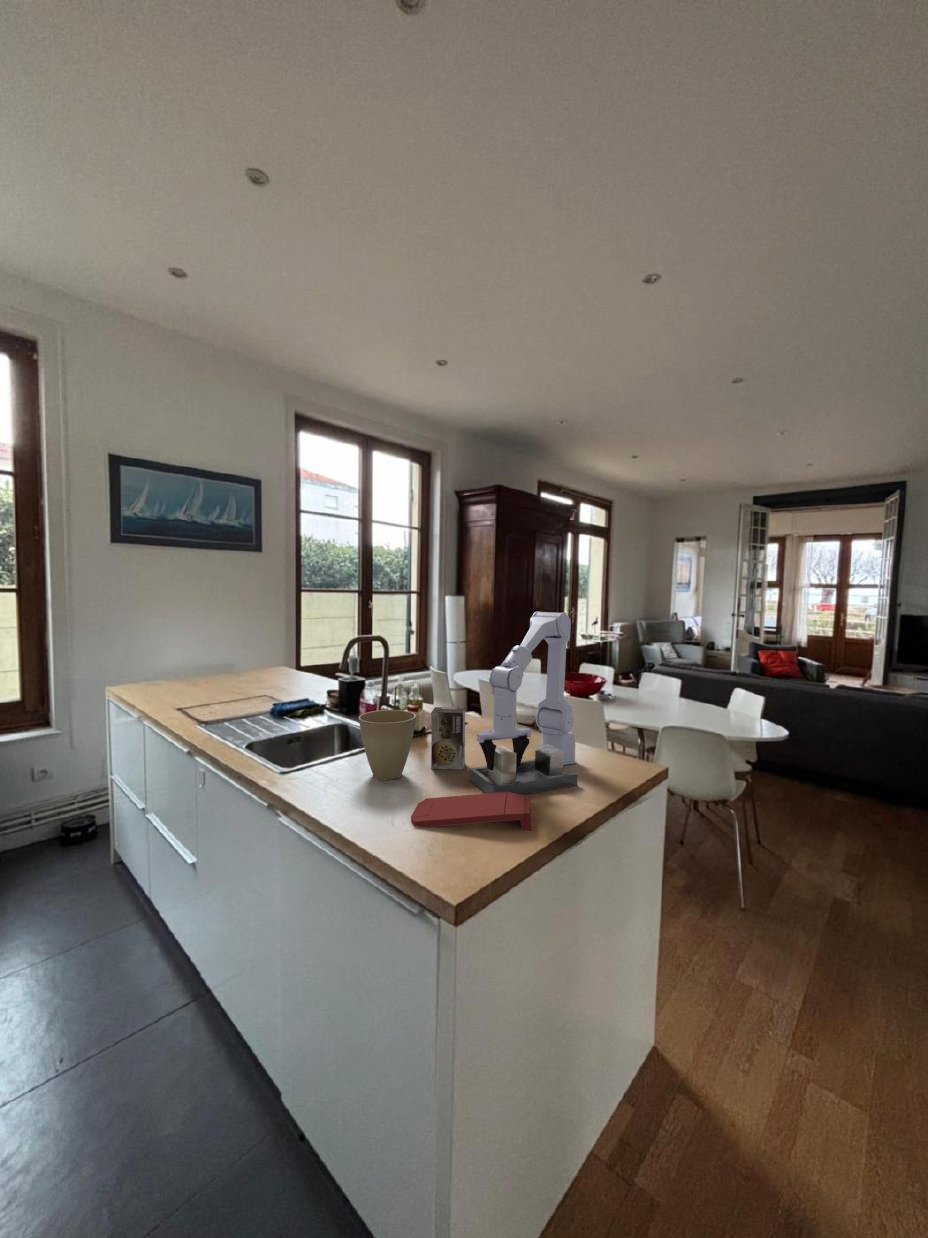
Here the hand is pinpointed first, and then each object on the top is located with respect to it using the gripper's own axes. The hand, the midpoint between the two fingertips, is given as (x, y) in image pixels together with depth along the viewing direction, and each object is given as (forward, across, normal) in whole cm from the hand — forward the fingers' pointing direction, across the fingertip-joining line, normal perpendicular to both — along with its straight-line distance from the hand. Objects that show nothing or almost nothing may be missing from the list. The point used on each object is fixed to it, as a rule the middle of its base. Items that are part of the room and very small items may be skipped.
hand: (503, 767), depth 127 cm
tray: (+5, -6, 0) cm, 7 cm away
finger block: (+4, 0, 0) cm, 4 cm away
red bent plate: (+5, +15, +14) cm, 21 cm away
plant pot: (+5, +25, -18) cm, 31 cm away
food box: (+5, +7, -19) cm, 21 cm away
